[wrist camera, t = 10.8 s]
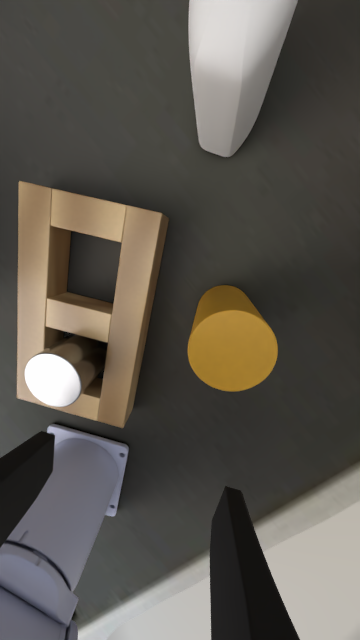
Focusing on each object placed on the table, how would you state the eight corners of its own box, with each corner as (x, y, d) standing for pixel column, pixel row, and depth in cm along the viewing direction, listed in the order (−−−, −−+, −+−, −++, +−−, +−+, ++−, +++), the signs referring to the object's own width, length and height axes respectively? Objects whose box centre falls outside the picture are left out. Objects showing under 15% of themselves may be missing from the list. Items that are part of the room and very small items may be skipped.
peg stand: (169, 218, 16) (162, 212, 14) (132, 408, 21) (123, 428, 19) (45, 189, 17) (18, 180, 15) (37, 382, 22) (16, 398, 20)
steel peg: (109, 376, 21) (78, 414, 16) (65, 364, 21) (23, 398, 16) (115, 334, 20) (84, 362, 15) (69, 323, 20) (24, 346, 15)
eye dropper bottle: (172, 114, 15) (39, -350, 3) (246, 27, 13) (474, -1413, 2) (218, 171, 15) (236, -55, 4) (294, 95, 14) (698, -661, 2)
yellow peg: (242, 342, 18) (261, 401, 11) (191, 329, 19) (179, 379, 11) (258, 292, 17) (291, 322, 10) (204, 279, 17) (199, 299, 10)
